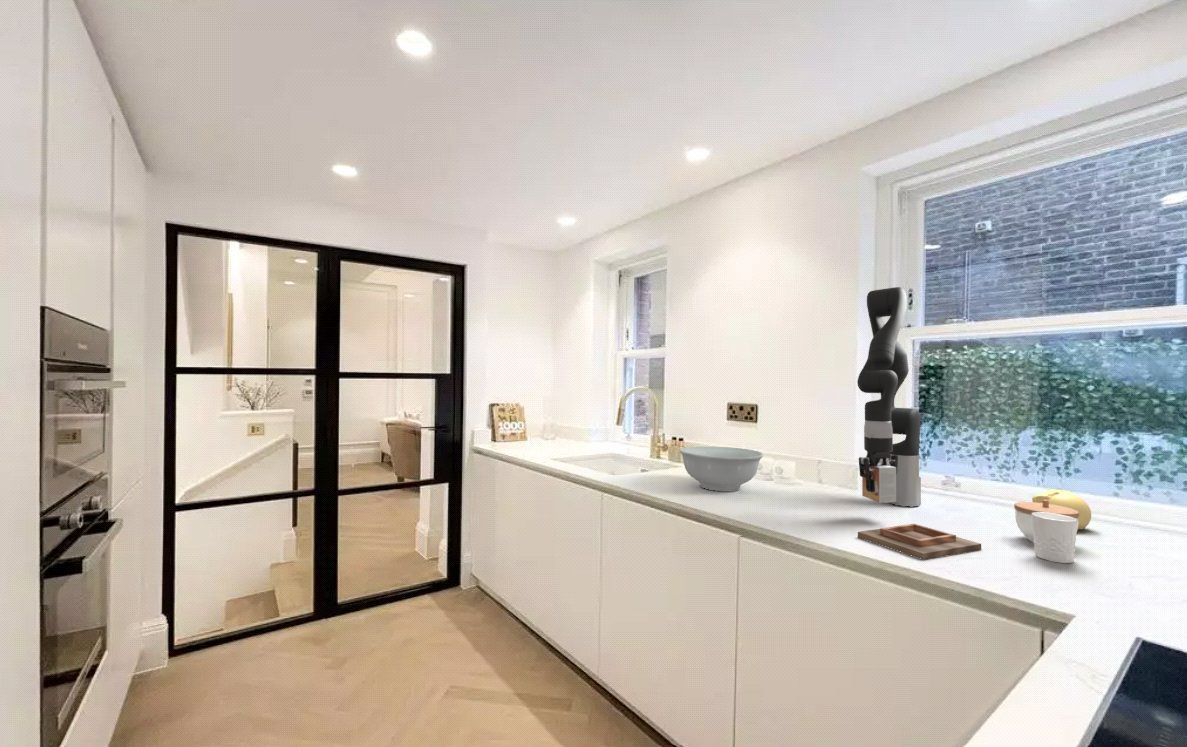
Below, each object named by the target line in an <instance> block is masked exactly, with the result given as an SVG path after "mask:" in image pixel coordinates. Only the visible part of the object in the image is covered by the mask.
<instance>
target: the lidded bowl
mask: <svg viewBox="0 0 1187 747" xmlns="http://www.w3.org/2000/svg"><path fill="white" fill-rule="evenodd" d="M1013 507H1014V509H1015V510H1014V514H1015V515H1014V516H1015V522H1016V524H1017V525H1016V526H1017V528H1018V529H1019V531H1020V532H1021V533H1022V535H1024V536H1025V537H1026V538H1027V541H1029V542H1031V543H1034V537H1033V525H1032V513H1034V512H1045V513H1054V514H1060V515H1065V516H1069V517H1073V518H1075V519H1076V520H1077V525H1076V534H1077V532H1078V530H1079V529H1078V522H1079V521H1078V517H1079V512H1078V511H1076V510H1074V509H1071V508H1068V507H1063V506H1058V505H1052V504H1049V501H1048V500H1043V503H1035V502H1033V501H1020V502H1015V503H1014V506H1013Z"/></svg>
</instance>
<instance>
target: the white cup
mask: <svg viewBox="0 0 1187 747" xmlns="http://www.w3.org/2000/svg"><path fill="white" fill-rule="evenodd" d="M1032 525H1033V537H1034V542H1033V544H1034V554H1035V556H1036V558H1037V557H1038V558H1040V559H1042V560H1046V561H1049V562H1054V563H1055V562H1056V563H1061V564H1062V563H1063V564H1072V563H1074V562H1075V551H1076V542H1077V533H1076V525H1077V520H1076V519H1075V518H1073V517H1069V516H1065V515H1060V514H1054V513H1045V512H1034V513H1032Z"/></svg>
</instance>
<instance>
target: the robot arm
mask: <svg viewBox="0 0 1187 747" xmlns="http://www.w3.org/2000/svg"><path fill="white" fill-rule="evenodd" d="M907 299H908V297H907V294H906V291H905V289H904V288H903V287H899V286H897V287H888V288H881V289H880V288H879V289H874V290H870V291H869V292H868V293H867V295H866V307H867V313H868V317H869V323H870V328H871V332H872V339H871V341H870V343H869V348H868V354H867V359H866V361H865V364H864V365H863V368H862V369H861V370H860V373H859V374H858V377H857V382H856V383H857V386H858V389H859V391H861V392H862V393H865V394H880V398H879V399H876V400H871V401H867V402H866V403H864V425H863V440H864V441H863V444H864V445H863V446H864V447H863V449H864V450H865V451H866V457H865V456H864V457H862V456H860V457H858V466H859V467H858V469H859V476H860V477H861V478H862V477H864V478H865V479H866V489H867V491H869V492H874V491H875V482H874V480H873V479H874V477H875V472H876V469H875V468H874V469H871V468H869V465H870V466H876V467H877V466H881V465H887V466H892V467H896V502H889V503H888V504H890V503H892V504H891V505H893V504H895V505H894V506H898V505H901V506H900V507H905V506H910V507H909V508H914V507H913V506H918V507H919V506H920V505H919V504H921V505H922V490H921V489H922V482H921V481H922V480H921V477H920V445H921V443H920V437H921V436H920V435H921V414H920V412H919V410H918V409H917V408H914V407H913V408H911V407H910V408H909V407H896V406H895V397H896V394H897V393H898V391H899V389H900V388H901V386H902V385H903V383H904V382H905V380H906V378H907V376H908V374H909V362H908V354H907V351H906V349H905V348H904V346H903V345H902V344H901V343H900V342H899V341H898V340H897V339H898V337H899V333H900V330H901V327H902V324H903V321H904V319H905V315H906V312H907V307H908V300H907ZM883 317H884V318H885V317H889V319H888V320H887V321H886V322H884V319H883ZM893 435H904V436H905V438H904V440H902V441H899V442H897V443H894V442H893V441H894V440H893V438H894V437H893ZM864 470H865V473H864ZM870 472H872V473H871V475H870Z"/></svg>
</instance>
